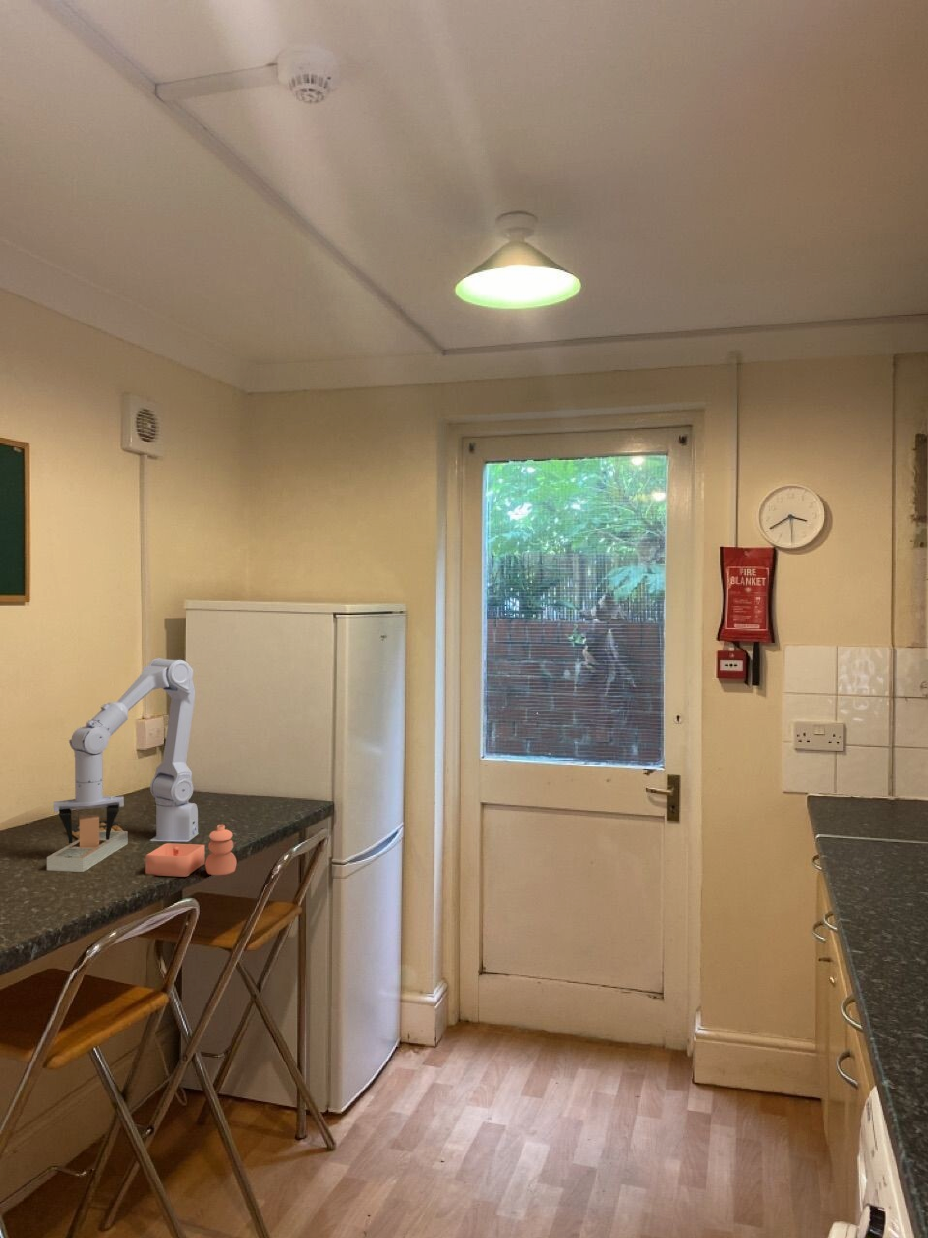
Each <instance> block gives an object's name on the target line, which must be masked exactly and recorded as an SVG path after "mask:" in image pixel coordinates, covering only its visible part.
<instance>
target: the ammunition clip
mask: <svg viewBox="0 0 928 1238" xmlns="http://www.w3.org/2000/svg"><path fill="white" fill-rule="evenodd" d="M71 826H72V838H75V839H77V840H79V839H80V824H74V825H71ZM106 826H107V819H105V820H99V831H106ZM111 831H124V830H123V828H121V827H120V826H119V824H118V823H117V822H115V821H114V822H113V825H112V828H111Z"/></svg>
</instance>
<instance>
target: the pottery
mask: <svg viewBox="0 0 928 1238" xmlns="http://www.w3.org/2000/svg"><path fill="white" fill-rule="evenodd" d="M225 828H226V826H225V824H218V825H217V826H216V829H215V830H213V831H211V832H210V833H209V835H208V836H209V837H208V838H209V839H210V842H208V846H207V847H208V850H209V852H210V853H209V855H208V856H207V857H205V854H206V853H205V844H193V843H192V844H191V843H190V844H189V843H170V842H169V843H167V842H166V843H164V844H161V845H159V846H158V847H157V848H155V849H154V850H151V851H150V852H149V853H147V854H146V855H145V856H144V857H145V858H144V859H145V862H144V865H145V866H144V867H145V869H144V870H145V872H144V873H145V875H154V876H160V877H180V878H182V877H183V878H185V877H188V876H190V875H191V874H193V872H195V871H197V869H199V868H200V867H202V866H203V865H204V867H205V871H206V874H207V875H211V876H224V875H229V874H233V873H234V872H235V871H236V867H237V858H236V855H234V853H233V852H232V850H233V848H234V841H233V840H232V837H233V832H232V831H231V830H229V829H225ZM205 858H206V859H205Z"/></svg>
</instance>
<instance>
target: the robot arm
mask: <svg viewBox="0 0 928 1238" xmlns="http://www.w3.org/2000/svg"><path fill="white" fill-rule="evenodd" d="M142 669H143V670H142V672H141V673H140V675H139V676H138V678H137V679H136V680H135V681H133V683H132V684H131V685H130V686H129V687H128V688H127V690H125V692H124V693H123V694H122V695H121V697H119V699H118V700H117V701H110V702H108V703H104V704H103V705H101V706H100V710H99V711H98V712H97V713H96V714H95V715H94V716H93V717H92V718H91V719H89V720H87V721H86V723H85V724H86V725H85V726H82V727H81V726H80V727H78V728H77V729H76V730H75V731H73V732H72V736H71V739H69V740H68V743H69V746H70V748H71V749H72V750H73V751H74V767H75V768H74V770H75V771H74V772H75V773H74V774H75V775H74V782H75V783H74V784H75V790H74V791H75V794H74V795H75V796H74V797H75V798H71V799H65V800H59V801H57V800H56V801H53V812H54V813H55V812H56V813H57V812H58V816H59V818H60V821H61V822H62V823H63V826H64V828H65V830H66V834H67V838H68V844H71V843H73V836H72V826H73V825H72V811H75V810H85V809H86V810H87V809H88V810H89V809H99V808H101V809H102V808H106V820H107V826H106V840H109V838H110V832H111V828H112V825H113V822H115V819H116V817H117V815H118V814H119V811H120V810H119V808H120V807H123V808H124V806H125V804H124V803H125V802H124V801H125V800H124V796H104V794H103V793H104V791H103V790H104V789H103V787H104V785H103V782H104V779H103V770H104V769H103V766H104V765H103V761H104V760H103V759H104V758H103V757H104V756H103V753H104V752H103V751H104V750H106V749H107V747H108V745H109V740H110V738H111V736H113V735H114V733H116V732H117V731H118V730H119V728H121V726H122V725H123V724H125V723H126V722H127V720H128V719H129V712H130V710H131V709H133V708H134V707H135V706H136V705H137V704H138V703H139V702H141V701H142V700H143V699H145V697H146V696H147V695H149V694H150V692H152V691H154V690H156V689H163V690H164V692H165V693H167V694H168V696H169V697H170V706H169V714H168V723H167V730H166V737H165V744H164V751H163V758H162V759H163V760H162V762H161V763H160V764H159V765H158V766H157V767H156V769H155V773H154V776H153V778H152V779H151V782H150V783H149V784H150V786H149V790H150V793H151V796H152V797H154V799H155V800H154V801H155V803H156V805H155V807H156V808H155V809H156V810H155V811H156V812H155V815H156V817H155V819H156V821H155V823H156V824H155V826H156V827H155V828H156V829H155V830H156V831H155V833H156V835H155V836H154V837H152V838H151V839H149V841H150V842H178V843H179V842H180V843H181V842H182V843H183V842H185V843H186V842H190V841H191V840H192V839H194V838H195V837H196V836H198V835H199V834H200V832H199V809H198V804H196V803H195V802H194V803H193V802H189V800H190V799H191V797H193V793H194V784H193V779H192V778H193V771H191V769H190V767H189V766H188V765H187V760H188V759H187V758H188V752H189V744H190V737H191V729H192V721H193V716H194V708H195V701H196V699H195V698H196V688H195V685H194V681H193V677H194V669H193V668H192V667H191V666H190V664H189V663H188V662H187V661H185V660H183V659H166V658H161V657H159V658H154V659H152V660H151V661H150V662H149V664H148V665H146V666H145V667H144V668H142Z"/></svg>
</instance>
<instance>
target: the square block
mask: <svg viewBox="0 0 928 1238" xmlns="http://www.w3.org/2000/svg"><path fill="white" fill-rule="evenodd" d="M99 821H100V815H99V814H90V815H88V814H87V815H79V825H80V847H97V846H99Z"/></svg>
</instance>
